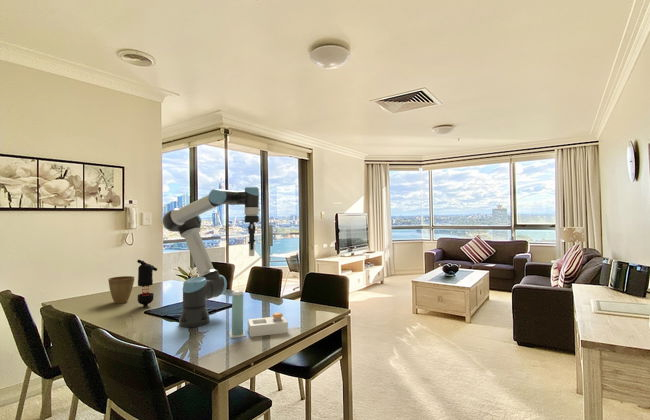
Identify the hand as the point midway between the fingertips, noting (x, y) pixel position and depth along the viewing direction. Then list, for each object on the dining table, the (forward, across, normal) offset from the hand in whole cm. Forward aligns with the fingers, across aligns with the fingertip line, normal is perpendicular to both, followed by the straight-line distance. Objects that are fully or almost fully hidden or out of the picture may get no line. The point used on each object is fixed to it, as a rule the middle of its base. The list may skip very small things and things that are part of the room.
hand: (251, 254), depth 179 cm
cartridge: (+36, -18, +7) cm, 40 cm away
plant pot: (+36, +61, +83) cm, 109 cm away
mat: (+36, -18, +7) cm, 41 cm away
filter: (+36, +46, +64) cm, 87 cm away
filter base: (+36, -16, -8) cm, 40 cm away
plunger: (+33, -16, -13) cm, 39 cm away
